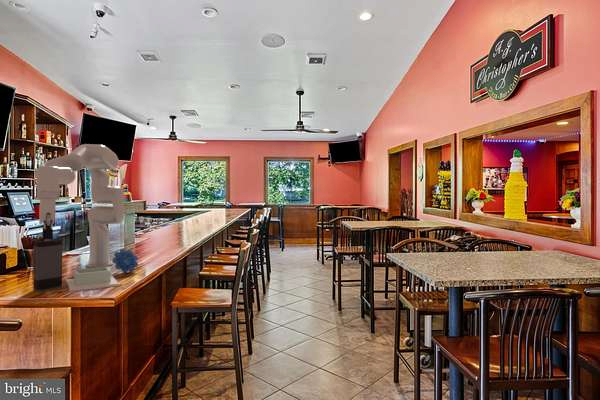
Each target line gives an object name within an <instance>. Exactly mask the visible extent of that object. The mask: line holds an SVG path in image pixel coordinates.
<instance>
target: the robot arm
mask: <svg viewBox="0 0 600 400" xmlns="http://www.w3.org/2000/svg"><path fill="white" fill-rule="evenodd" d="M119 161H120V160H119V158H118V155H117V154H116V153H115V152H114V151H112V150H111V149H110V148H109V147H107V146H106V145H103V144H93V143H92V144H90V143H88V144H87V143H84V144H81V145H80V144H79V146H77V147H76V148H75V149H74V150H72V151H70V152H69V153H68V154H66V155H62V156H58V157H55V158H52V159H49V160H47V161H44V162H43V163H42V164H41V165H40V166H38V167H37V169H36V172H35V178H36V182H37V183H36V200H38V201H39V212H38V213H39V219H38V220H39V221H38V222H39V224H40V225H42V224H43V227H42V240H43V241H47V240H52V239H54V238H53V237H54V229H53V225H54V224H55V218H56V201H59V200H60V185H70V184H72V183H73V182H74V181H75V179H76V172H79V171H81V170H83V169H84V168H86V170H87V172H88V173H89V175H90V179H91V180H90V181H91V183H90V184H91V185H90V188H91V189H90V190H91V191H90V196H91V200H92V202H93V203H95V204H100V205H96V206H92V207H90V208H89V209H88V210H87V220H88V227H89V258H88V259H89V262H86V263H85V266H86V267H87V268H95V267H106V266H107V267H108V266H109V267H110V266H112V265H113V264H114V263H113V261H112V260H110V252H111V251H110V241H111V238H110V237H111V236H110V235H111V233H110V230H109V228H108V226H107V225H120V224H122V223H123V221H124V220H125V192H124V189H123V188H122V186H121V187H120V186H118V185H110V176H109V173H108V172H107V170H111V171H112V170H115V169H117V168H118V166H119V163H120V162H119ZM101 204H102V205H101ZM103 204H104V205H103ZM106 204H107V206H106ZM108 205H112V206H108Z"/></svg>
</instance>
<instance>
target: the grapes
mask: <svg viewBox="0 0 600 400" xmlns="http://www.w3.org/2000/svg"><path fill="white" fill-rule="evenodd" d="M113 255H114V257H112V260H111V261H112V262H113V264H115V265H114V267H115V269H116V270H121V272H122V273H125V274H126V273H128V272H132V273H133V272H134V271H135V268H137V267H138V266H139V263H138V259H139V258H138V256H137V255H136V254H134V252H133V250H132V249H128V250H126V249H125V248H121V249H119V251H115V252H114V254H113Z"/></svg>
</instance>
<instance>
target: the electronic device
mask: <svg viewBox="0 0 600 400" xmlns="http://www.w3.org/2000/svg"><path fill="white" fill-rule="evenodd" d="M32 254H33V255H32V257H33V258H32V259H33V263H32V264H33V267H32V268H33V271H32V272H33V273H32V274H33V275H32V277H33V282H32V284H33V287H32V288H33V291H36V292H39V293H40V292H45V291H50V290H51V291H52V290H57V289H61V288H63V240H62V239H59V238H53V239H47V240H40V239H39V240H34V241H33V253H32Z"/></svg>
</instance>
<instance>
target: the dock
mask: <svg viewBox="0 0 600 400" xmlns="http://www.w3.org/2000/svg"><path fill="white" fill-rule="evenodd" d="M111 273H112V271H111V269H110V268H109V267H108V266H104V267H87V268H86V267H85V268H76V269H73V278H68V279H67V278H66V280H65V281H66V284H67V287H68V290H69V292H76V291H77V292H78V291H85V290H93V289H102V288H103V289H104V288H111V287H117V286H118V287H119V285H120V283H119V282H118V281H117V279H115V277H114V276H113V275H112V274H111Z"/></svg>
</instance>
